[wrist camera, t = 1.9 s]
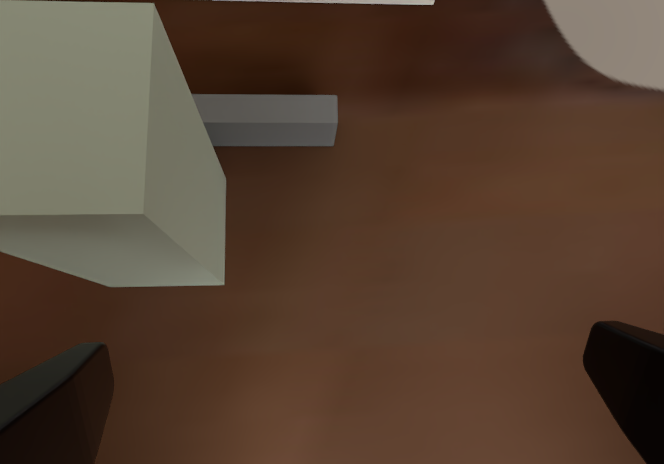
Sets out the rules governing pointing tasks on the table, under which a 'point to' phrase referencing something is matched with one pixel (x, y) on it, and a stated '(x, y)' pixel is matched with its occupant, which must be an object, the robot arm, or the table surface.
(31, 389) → the robot arm
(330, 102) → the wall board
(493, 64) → the table surface
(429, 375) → the table surface
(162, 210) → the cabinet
